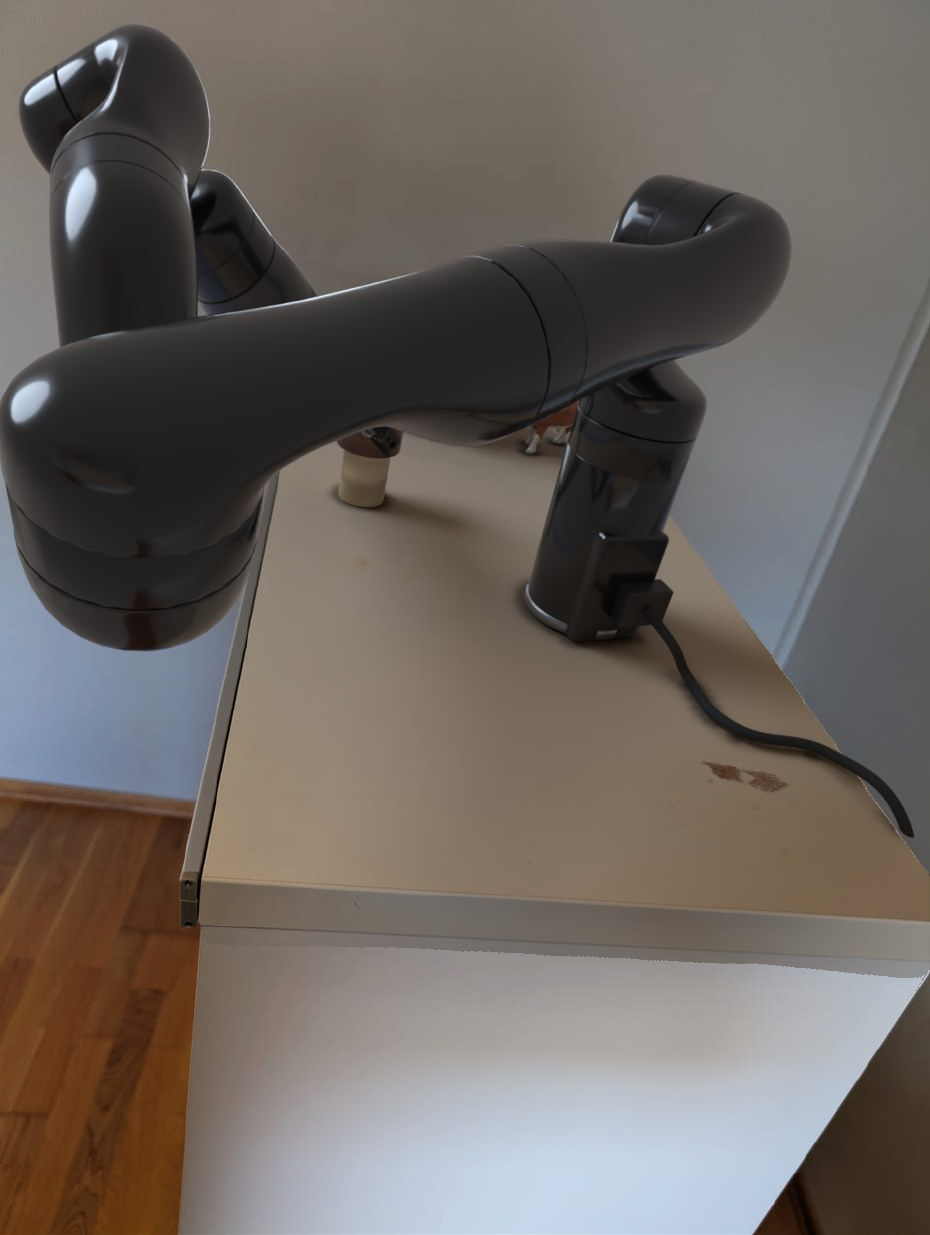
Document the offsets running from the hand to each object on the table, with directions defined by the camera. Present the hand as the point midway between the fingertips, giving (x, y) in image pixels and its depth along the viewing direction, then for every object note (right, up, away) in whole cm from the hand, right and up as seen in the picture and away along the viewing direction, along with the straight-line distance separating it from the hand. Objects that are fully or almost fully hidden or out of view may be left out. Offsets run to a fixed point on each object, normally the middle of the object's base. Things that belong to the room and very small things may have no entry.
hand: (360, 431), depth 79 cm
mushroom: (-1, -5, +5) cm, 7 cm away
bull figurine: (+19, +3, +26) cm, 32 cm away
